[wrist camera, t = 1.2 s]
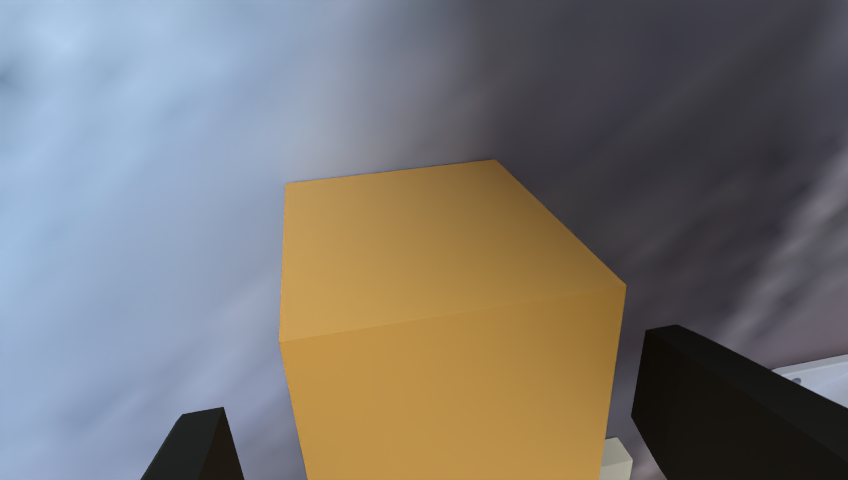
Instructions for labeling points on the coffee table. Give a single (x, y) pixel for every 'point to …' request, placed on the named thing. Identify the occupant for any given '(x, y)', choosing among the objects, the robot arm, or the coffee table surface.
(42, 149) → the coffee table surface
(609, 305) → the amber foam cube
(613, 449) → the board
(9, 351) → the coffee table surface
